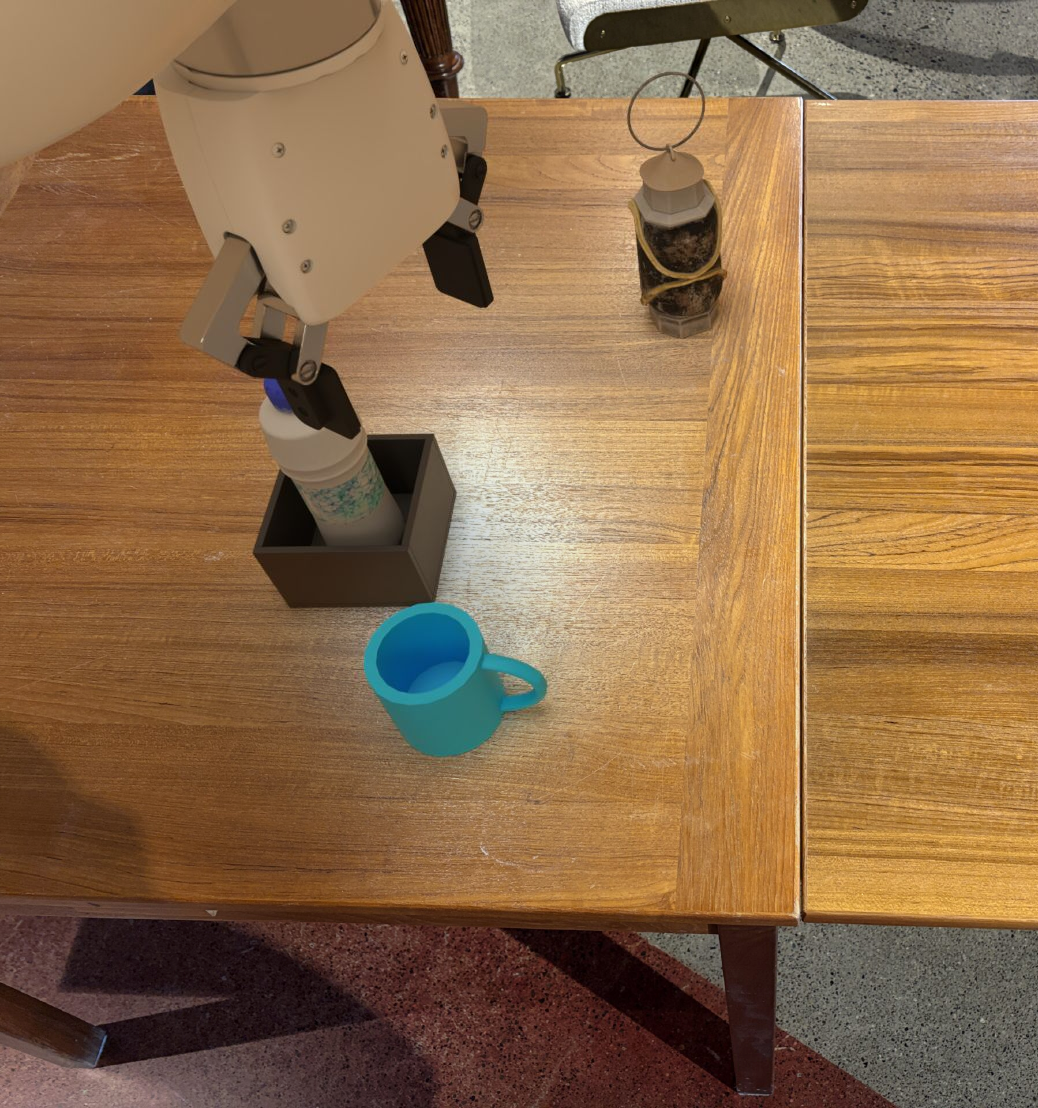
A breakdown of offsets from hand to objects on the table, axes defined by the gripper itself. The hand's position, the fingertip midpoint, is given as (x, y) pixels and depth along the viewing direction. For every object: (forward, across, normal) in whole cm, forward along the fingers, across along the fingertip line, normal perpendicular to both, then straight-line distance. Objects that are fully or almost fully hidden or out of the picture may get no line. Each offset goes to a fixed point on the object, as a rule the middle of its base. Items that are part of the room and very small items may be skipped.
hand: (402, 357), depth 50 cm
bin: (+36, -6, -21) cm, 42 cm away
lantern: (+36, -42, -12) cm, 57 cm away
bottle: (+36, -6, -21) cm, 41 cm away
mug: (+36, +2, -4) cm, 36 cm away
